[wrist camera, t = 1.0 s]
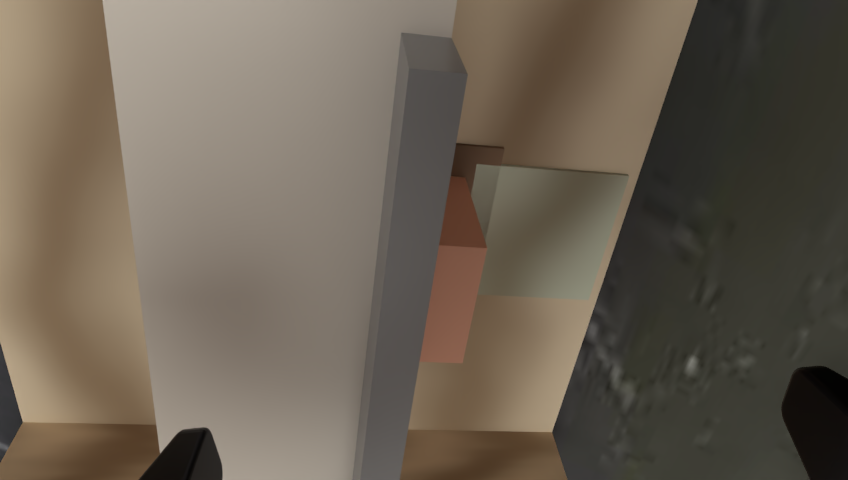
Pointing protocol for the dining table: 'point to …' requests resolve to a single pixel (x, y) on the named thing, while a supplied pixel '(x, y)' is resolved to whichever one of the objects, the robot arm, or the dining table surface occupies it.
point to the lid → (286, 218)
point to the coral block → (454, 278)
